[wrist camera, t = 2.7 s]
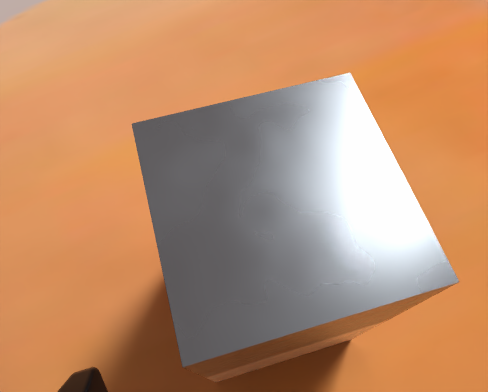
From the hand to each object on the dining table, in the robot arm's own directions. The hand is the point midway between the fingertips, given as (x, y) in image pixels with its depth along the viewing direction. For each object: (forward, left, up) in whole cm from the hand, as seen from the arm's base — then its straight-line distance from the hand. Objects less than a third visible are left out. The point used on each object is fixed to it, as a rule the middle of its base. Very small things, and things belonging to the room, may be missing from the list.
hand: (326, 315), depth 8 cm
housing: (+1, +3, -10) cm, 11 cm away
